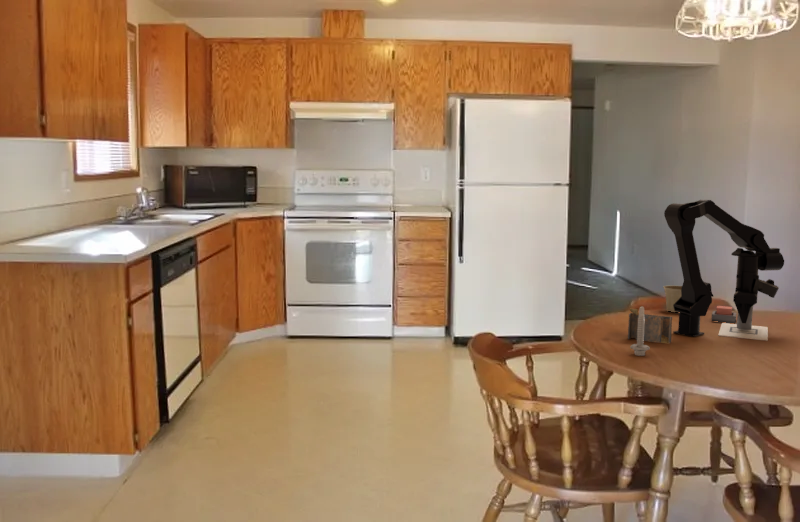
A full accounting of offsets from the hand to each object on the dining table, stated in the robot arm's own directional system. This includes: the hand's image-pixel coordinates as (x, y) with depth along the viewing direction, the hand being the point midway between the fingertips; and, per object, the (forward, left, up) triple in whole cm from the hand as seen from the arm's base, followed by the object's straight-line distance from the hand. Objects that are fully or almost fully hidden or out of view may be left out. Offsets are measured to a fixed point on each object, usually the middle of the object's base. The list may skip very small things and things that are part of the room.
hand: (744, 321), depth 213 cm
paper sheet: (0, 0, -3) cm, 3 cm away
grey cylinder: (0, 0, -2) cm, 2 cm away
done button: (+11, +12, -1) cm, 16 cm away
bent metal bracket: (-34, +10, -4) cm, 36 cm away
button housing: (+11, +12, -3) cm, 17 cm away
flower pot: (+13, +30, -3) cm, 33 cm away
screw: (-51, +2, -3) cm, 51 cm away
